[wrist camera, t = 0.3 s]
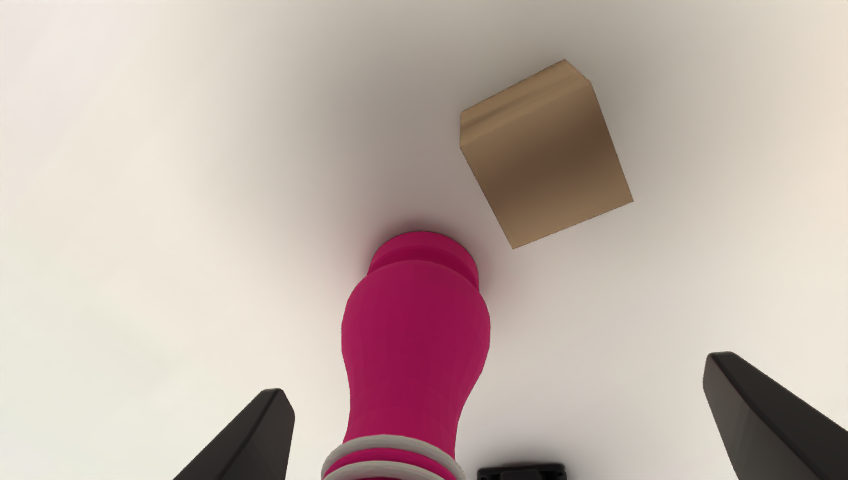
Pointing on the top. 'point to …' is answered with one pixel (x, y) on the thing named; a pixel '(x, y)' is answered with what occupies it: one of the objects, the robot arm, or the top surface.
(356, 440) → the pepper mill
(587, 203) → the walnut cube
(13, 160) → the top surface
